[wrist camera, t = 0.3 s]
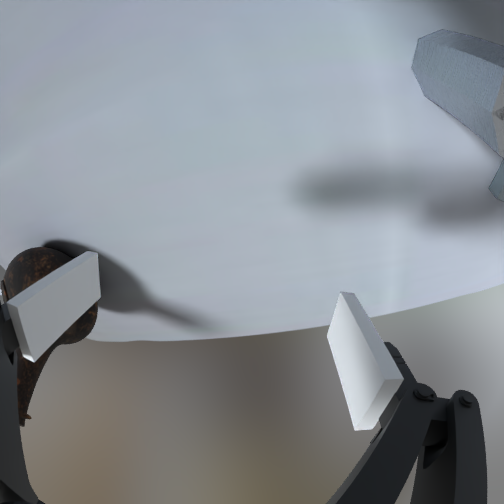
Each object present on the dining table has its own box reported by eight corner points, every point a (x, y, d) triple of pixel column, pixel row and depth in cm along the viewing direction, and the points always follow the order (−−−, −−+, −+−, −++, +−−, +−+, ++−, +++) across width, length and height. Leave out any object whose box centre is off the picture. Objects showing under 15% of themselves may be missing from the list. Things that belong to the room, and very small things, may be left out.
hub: (422, 19, 13) (511, 38, 5) (481, 53, 13) (565, 96, 5) (405, 88, 18) (479, 144, 10) (463, 114, 18) (534, 177, 11)
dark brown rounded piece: (39, 212, 30) (-49, 392, 11) (127, 282, 41) (79, 457, 22) (17, 256, 39) (-39, 386, 19) (85, 307, 49) (47, 434, 30)
